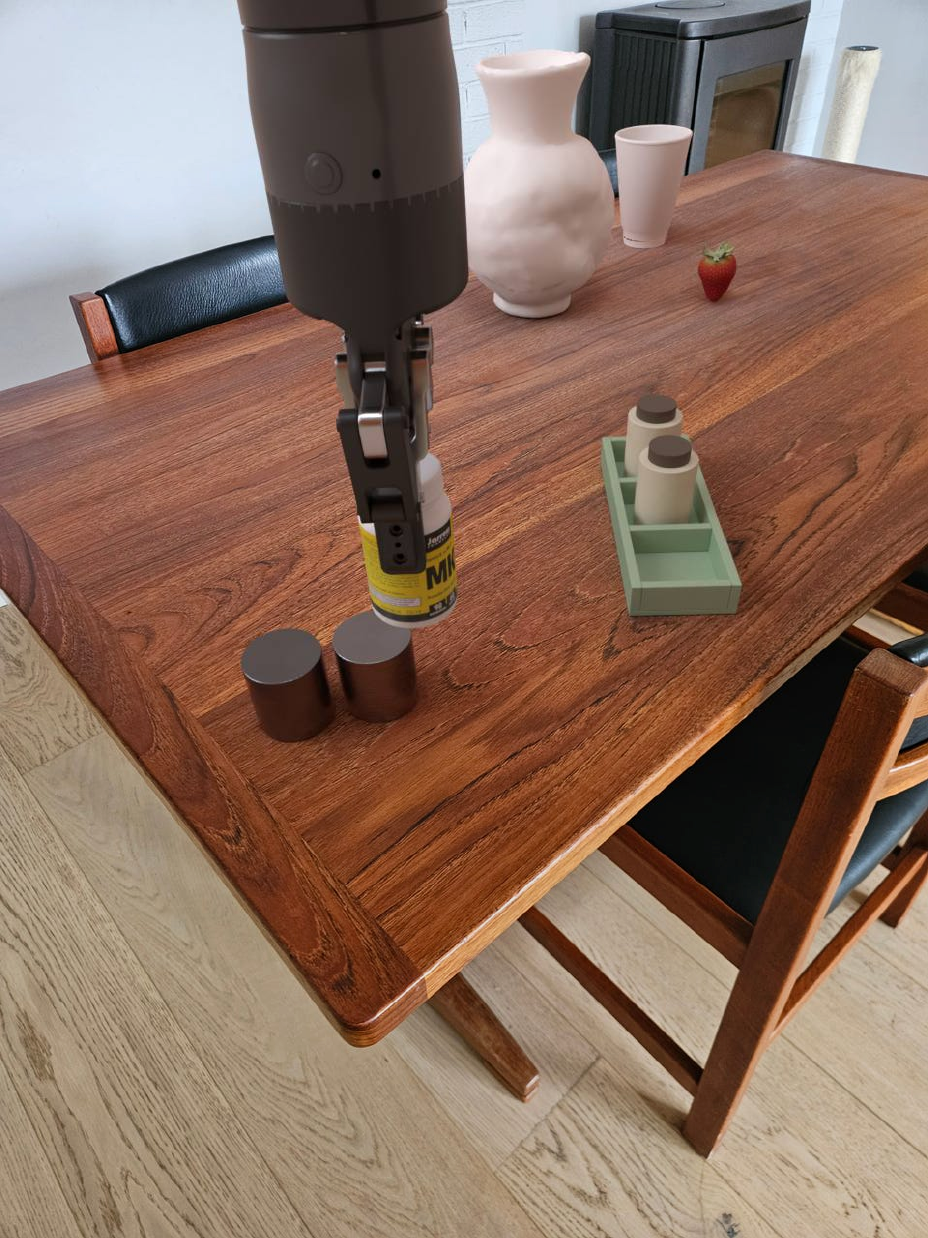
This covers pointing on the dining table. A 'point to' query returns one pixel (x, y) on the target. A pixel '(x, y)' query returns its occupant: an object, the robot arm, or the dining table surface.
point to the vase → (535, 186)
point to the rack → (669, 550)
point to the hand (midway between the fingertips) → (408, 535)
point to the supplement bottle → (436, 586)
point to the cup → (649, 179)
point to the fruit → (717, 271)
